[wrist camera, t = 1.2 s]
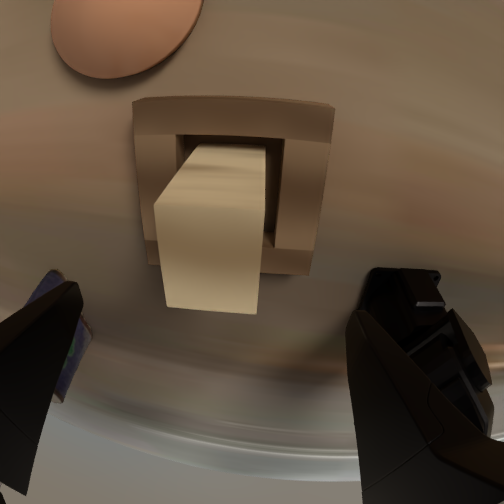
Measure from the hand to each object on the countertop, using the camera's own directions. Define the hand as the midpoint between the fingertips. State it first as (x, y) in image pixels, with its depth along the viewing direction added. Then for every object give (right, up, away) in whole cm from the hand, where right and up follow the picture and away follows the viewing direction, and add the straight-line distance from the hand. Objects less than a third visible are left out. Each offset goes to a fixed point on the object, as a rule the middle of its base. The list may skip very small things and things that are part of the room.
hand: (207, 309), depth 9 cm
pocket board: (0, +6, +10) cm, 12 cm away
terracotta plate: (-6, +17, +4) cm, 18 cm away
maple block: (0, +6, +10) cm, 12 cm away
